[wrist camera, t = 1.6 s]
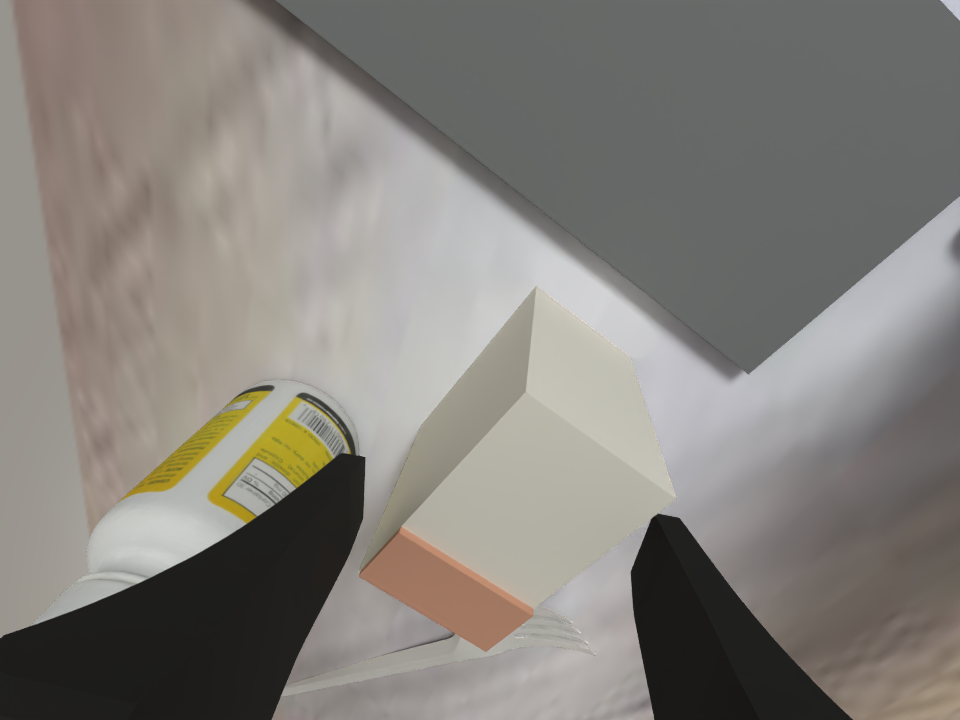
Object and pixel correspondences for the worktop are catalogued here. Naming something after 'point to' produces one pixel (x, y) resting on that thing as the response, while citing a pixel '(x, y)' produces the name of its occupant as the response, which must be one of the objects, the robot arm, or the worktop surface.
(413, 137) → the worktop surface
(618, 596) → the worktop surface
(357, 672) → the fork
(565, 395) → the card box
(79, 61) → the worktop surface
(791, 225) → the rubber mat
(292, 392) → the supplement bottle
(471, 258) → the worktop surface
